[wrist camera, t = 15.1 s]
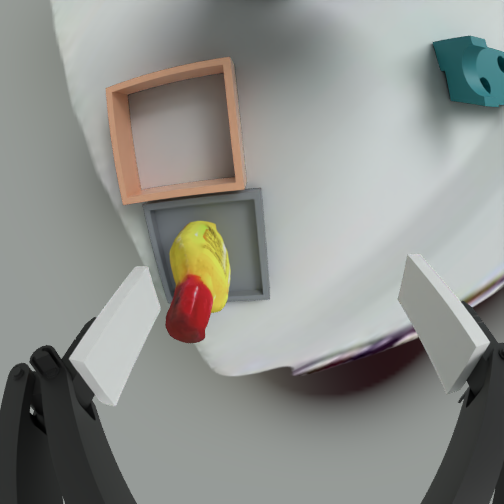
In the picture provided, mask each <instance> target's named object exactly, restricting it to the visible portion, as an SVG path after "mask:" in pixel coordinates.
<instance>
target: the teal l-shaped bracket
mask: <svg viewBox="0 0 504 504" xmlns="http://www.w3.org/2000/svg"><path fill="white" fill-rule="evenodd" d="M433 45H434V49H435V52H436V56H437V60H438V63H439V67H440V70H441V71H445V73H446V78H447V83H448V88H449V93H450V99H451V101H456V102H463V103H470V104H476V105H482V106H491V107H499V105H504V52H502V51H499V50H496V49H492V48H489V47H487V45H486V42H485V39H481V38H477V37H474V36H464V37H458V38H452V39H446V40H441V41H436V42H433Z"/></svg>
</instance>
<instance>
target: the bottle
mask: <svg viewBox="0 0 504 504" xmlns="http://www.w3.org/2000/svg"><path fill="white" fill-rule="evenodd" d="M169 255H170V264H171V269H172V273H173V277H174V280H175V283H176V287H175V293H174V297H173V300H172V302H171V305H170V308H169V310H168V312H167V316H166V329H167V331H168V333H169V334H170V336H171V337H173V338H174V339H176V340H179V341H182V342H185V343H197V342H200V341H202V340H203V339H204V338H205V328H206V326H207V324H208V321H209V318H210V314H211V313H214V312H218V311H221V310H222V308H223V307H224V306H225V304H226V302H227V299H228V292H229V285H230V279H231V278H230V275H231V269H230V264H229V258H228V252H227V249H226V247H225V245H224V242H223V239H222V237H221V235H220V234H219V233H218V231H217V230H216V224H214V223H211V222H207V221H195V222H190V223H188V224H187V225H186V226H185V227H184V228H183V229H182V230H181V231H180V233H179V234H178V236H177V237H176V238H175V240H174V242H173V245H172V247H171V249H170V252H169Z"/></svg>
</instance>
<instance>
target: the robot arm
mask: <svg viewBox="0 0 504 504" xmlns="http://www.w3.org/2000/svg"><path fill="white" fill-rule="evenodd" d="M398 300H399V302H400V304H401V305H402V307H403V309H404V311H405V312H406V314H407V316H408V318H409V320H410V321H411V323H412V325H413V327H414V329H415V331H416V332H417V334H418V336H419V338H420V340H421V342H422V344H423V346H424V348H425V350H426V352H427V354H428V356H429V358H430V360H431V362H432V363H433V366H434V368H435V370H436V372H437V374H438V376H439V379H440V381H441V383H442V386H443V388H444V390H445V392H446V394H450V393H453V392H455V391H458V390H460V389H461V388H462V386H463V385H464V384H465V382H466V381H467V382H468V384H469V387H468V389H467V390H466V391H465V393H464V394H463V395H462V397H461V398H460V400H459V402H458V403H460V402H461V401H462V400H463V399H464V401H463V405H462V408H461V411H460V415H459V418H458V421H457V424H456V427H455V430H454V433H453V435H452V438H451V441H450V443H449V446H448V449H447V451H446V453H445V456H444V458H443V461H442V463H441V465H440V467H439V469H438V472H437V474H436V476H435V478H434V480H433V482H432V484H431V486H430V488H429V490H428V492H427V493H426V495H425V497H424V499H423V500H422V502H421V504H489V503H490V500H491V498H492V495H493V492H494V489H495V494H494V498H493V503H492V504H504V343H498V342H497V341H496V339H495V338H494V337H493V335H492V334H491V332H490V331H489V329H488V328H487V327H486V325H485V324H484V323H483V322H482V320H481V318H480V317H479V316H478V315H477V313H476V312H475V311H474V309H473V308H472V307H471V306H470V305H468V304H467V303H465V302H464V301H462V302H461V301H460V300H459V299H458V298H457V296H456V295H455V294H454V293H453V291H452V290H451V289H450V288H449V287H448V285H447V284H446V283H445V282H444V281H443V279H442V278H441V277H440V276H439V275H438V274H437V273H436V271H435V270H434V269H433V268H432V267H431V266H430V265H429V263H428V262H427V261H426V260H425V259H424V258H423V257H422V256H421V255H420V254H407V260H406V265H405V270H404V274H403V279H402V283H401V288H400V292H399V296H398ZM160 310H161V308H160V304H159V301H158V298H157V295H156V292H155V288H154V285H153V282H152V278H151V275H150V272H149V268H148V266H136V267H135V268H134V269H133V270H132V271H131V273H130V274H129V275H128V276H127V278H126V279H125V280H124V282H123V283H122V284H121V285H120V287H119V288H118V289H117V291H116V292H115V293H114V295H113V296H112V297H111V299H110V300H109V301H108V303H107V304H106V305H105V307H104V308H103V310H102V311H101V312H100V314H99V315H98V317H97V318H96V317H94V318H93V319H91V320H90V321H89V322H88V323H86V324H85V326H84V327H83V329H82V330H81V331H80V333H79V334H78V336H77V337H76V340H74V341H73V343H72V344H71V346H70V347H69V349H68V350H67V352H66V353H65V355H64V356H63V358H62V359H61V358H60V357H59V355H58V354H57V352H56V351H55V349H54V348H53V347H52V346H48V345H46V346H42V347H40V348H38V349H37V350H36V351H35V352H34V353H33V354H32V356H31V358H30V364H31V365H32V366H33V368H34V369H35V370H36V371H32V370H31V369H30V368H29V366H28V365H27V364H25V363H20V364H17V365H15V366H14V367H13V368H12V370H11V371H10V373H9V375H8V379H7V383H6V387H5V391H4V395H3V399H2V405H1V409H0V504H63V499H64V501H65V504H137V503H136V501H135V500H134V498H133V496H132V494H131V492H130V490H129V488H128V486H127V484H126V482H125V480H124V478H123V476H122V474H121V472H120V470H119V468H118V465H117V463H116V461H115V458H114V456H113V454H112V451H111V449H110V446H109V444H108V441H107V439H106V436H105V433H104V431H103V428H102V425H101V422H100V419H99V416H98V413H97V410H96V406H95V404H94V403H93V401H92V399H93V397H94V395H95V396H96V397H97V398H98V399H99V401H100V402H101V403H104V404H108V405H112V406H116V404H117V402H118V399H119V397H120V395H121V392H122V390H123V388H124V386H125V383H126V381H127V379H128V377H129V374H130V372H131V370H132V368H133V366H134V364H135V361H136V359H137V357H138V355H139V353H140V351H141V349H142V347H143V345H144V342H145V340H146V338H147V336H148V334H149V332H150V330H151V328H152V326H153V324H154V322H155V320H156V318H157V316H158V314H159V312H160ZM30 407H32V409H33V410H34V413H33V415H32V414H31V413H30ZM62 496H63V498H62Z"/></svg>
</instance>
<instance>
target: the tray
mask: <svg viewBox="0 0 504 504" xmlns="http://www.w3.org/2000/svg"><path fill="white" fill-rule="evenodd" d="M143 209H144V214H145V218H146V223H147V227H148V231H149V235H150V240H151V244H152V248H153V252H154V255H155V259H156V263H157V267H158V270H159V274H160V278H161V281H162V284H163V288H164V291H165V295H166V298H167V301H168V303H171V302H172V300H173V297H174V293H175V287H176V283H175V280H174V277H173V273H172V269H171V264H170V255H169V252H170V249H171V247H172V245H173V242H174V240H175V238H176V237H177V236H178V234H179V233H180V231H181V230H182V229H183V228H184V227H185V226H186V225H187V224H188V223H190V222H195V221H207V222H211V223H214V224H216V230H217V231H218V233H219V234H220V235H221V237H222V239H223V242H224V245H225V247H226V249H227V252H228V258H229V264H230V269H231V275H230V278H231V279H230V285H229V292H228V299H227V302H228V301H250V300H268V299H270V287H269V274H268V261H267V249H266V237H265V225H264V214H263V203H262V192H261V188H253V189H244V190H235V191H225V192H215V193H206V194H197V195H189V196H181V197H174V198H166V199H159V200H152V201H148V202H146V203H145V204H143Z"/></svg>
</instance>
